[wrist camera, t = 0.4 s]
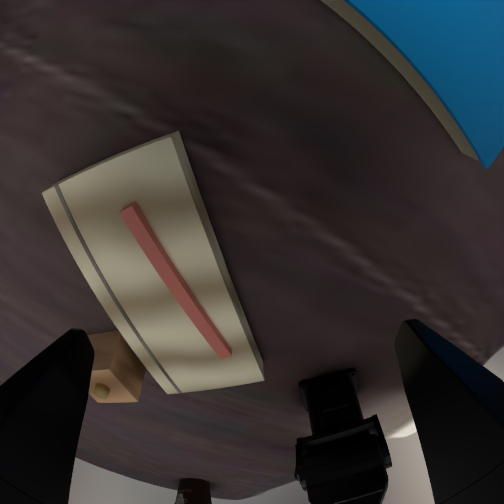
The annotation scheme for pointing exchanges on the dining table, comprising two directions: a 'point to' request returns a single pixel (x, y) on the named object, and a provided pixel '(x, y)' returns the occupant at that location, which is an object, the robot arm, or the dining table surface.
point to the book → (444, 61)
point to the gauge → (115, 369)
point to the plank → (144, 274)
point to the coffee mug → (193, 492)
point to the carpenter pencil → (173, 278)
